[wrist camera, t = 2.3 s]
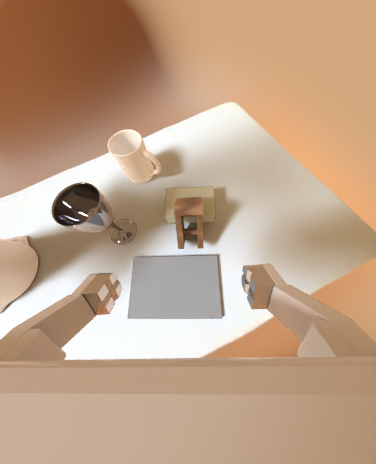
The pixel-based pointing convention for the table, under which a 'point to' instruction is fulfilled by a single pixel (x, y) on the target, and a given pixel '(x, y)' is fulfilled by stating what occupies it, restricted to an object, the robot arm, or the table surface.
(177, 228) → the stool
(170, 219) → the pale olive rectangular block
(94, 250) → the table surface
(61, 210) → the wine glass
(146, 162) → the mug
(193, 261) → the mat
